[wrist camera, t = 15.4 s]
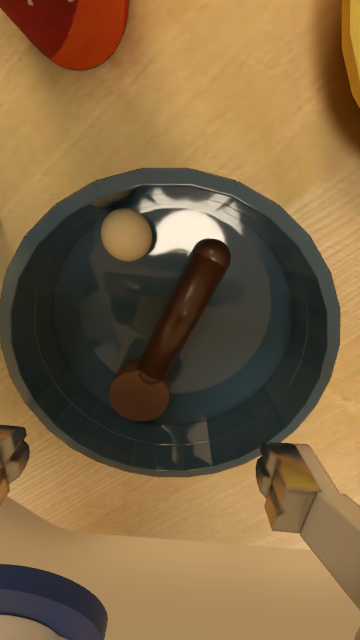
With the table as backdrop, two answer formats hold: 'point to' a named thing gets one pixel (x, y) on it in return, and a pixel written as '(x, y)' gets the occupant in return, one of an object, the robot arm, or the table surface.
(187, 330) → the disc-headed brown rod
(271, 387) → the bowl
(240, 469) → the table surface
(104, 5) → the coffee cup
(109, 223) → the ball
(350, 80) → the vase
